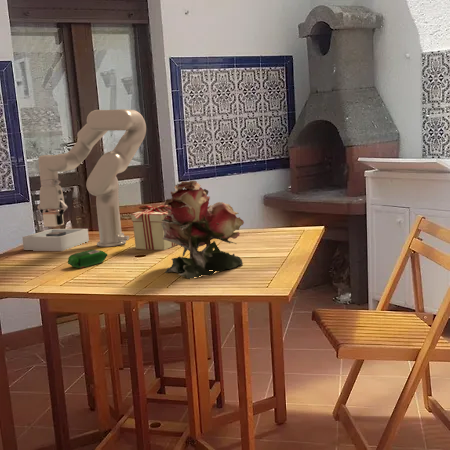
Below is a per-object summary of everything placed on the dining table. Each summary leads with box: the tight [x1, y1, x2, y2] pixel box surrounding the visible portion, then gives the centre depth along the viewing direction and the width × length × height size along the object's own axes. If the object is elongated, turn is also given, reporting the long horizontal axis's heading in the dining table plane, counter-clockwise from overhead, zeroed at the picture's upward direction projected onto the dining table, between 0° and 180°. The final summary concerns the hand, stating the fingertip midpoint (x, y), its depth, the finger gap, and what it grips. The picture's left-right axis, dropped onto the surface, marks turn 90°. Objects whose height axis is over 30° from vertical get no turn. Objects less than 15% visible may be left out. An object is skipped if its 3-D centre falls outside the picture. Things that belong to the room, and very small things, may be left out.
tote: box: [21, 228, 90, 252], centre depth 282 cm, size 20×20×6 cm
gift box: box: [130, 204, 179, 251], centre depth 262 cm, size 17×18×17 cm
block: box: [46, 232, 66, 237], centre depth 282 cm, size 6×6×5 cm
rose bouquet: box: [161, 180, 245, 280], centre depth 218 cm, size 26×29×30 cm
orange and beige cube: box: [42, 210, 65, 228], centre depth 281 cm, size 6×6×6 cm
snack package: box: [67, 249, 108, 269], centre depth 237 cm, size 7×16×5 cm, turn 137°
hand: (53, 223), depth 281 cm, fingers closed on orange and beige cube, 6 cm apart
